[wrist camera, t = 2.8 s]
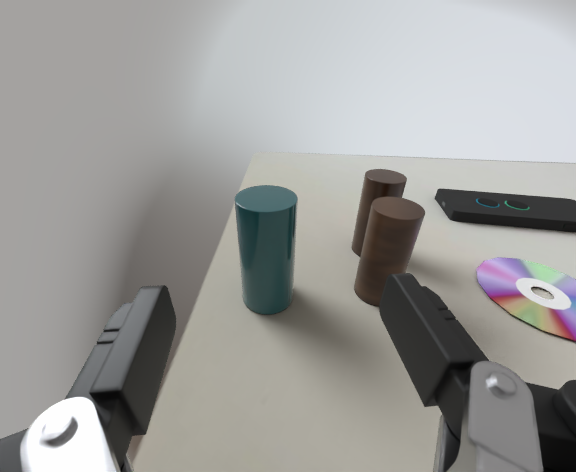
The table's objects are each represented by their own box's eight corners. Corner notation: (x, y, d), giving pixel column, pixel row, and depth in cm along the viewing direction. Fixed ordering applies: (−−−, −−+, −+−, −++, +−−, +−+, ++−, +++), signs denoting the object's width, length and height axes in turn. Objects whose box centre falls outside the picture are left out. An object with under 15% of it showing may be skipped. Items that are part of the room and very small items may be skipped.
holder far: (352, 257, 31) (366, 181, 26) (351, 238, 34) (363, 167, 30) (388, 261, 31) (410, 185, 26) (384, 241, 34) (402, 170, 29)
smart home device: (436, 187, 45) (572, 197, 43) (433, 196, 46) (566, 207, 44) (455, 210, 38) (618, 224, 36) (450, 221, 39) (609, 236, 37)
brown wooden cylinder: (355, 303, 25) (374, 216, 20) (353, 274, 29) (369, 194, 24) (400, 309, 25) (431, 222, 20) (393, 279, 28) (418, 198, 23)
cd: (453, 259, 31) (453, 258, 31) (545, 256, 32) (545, 255, 32) (537, 347, 22) (537, 346, 22) (663, 339, 23) (663, 338, 23)
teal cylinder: (236, 310, 24) (225, 208, 19) (250, 276, 28) (245, 182, 23) (288, 318, 24) (293, 215, 18) (295, 282, 27) (301, 187, 22)
